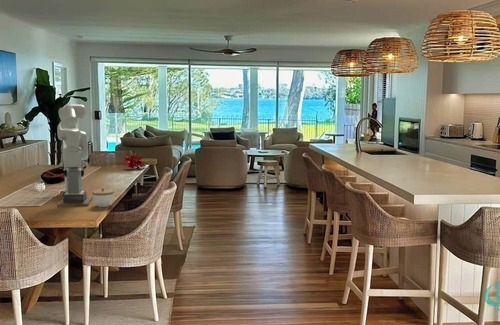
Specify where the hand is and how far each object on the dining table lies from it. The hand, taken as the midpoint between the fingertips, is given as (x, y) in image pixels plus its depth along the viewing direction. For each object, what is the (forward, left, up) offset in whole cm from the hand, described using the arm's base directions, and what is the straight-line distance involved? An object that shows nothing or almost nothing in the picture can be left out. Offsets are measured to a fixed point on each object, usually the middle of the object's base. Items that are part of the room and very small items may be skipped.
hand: (74, 176), depth 304 cm
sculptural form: (-147, +27, -17) cm, 150 cm away
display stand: (0, 0, -17) cm, 17 cm away
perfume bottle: (0, 0, -11) cm, 10 cm away
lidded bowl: (+11, +19, -17) cm, 28 cm away
